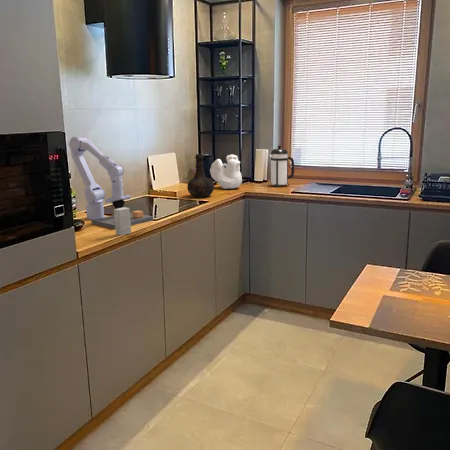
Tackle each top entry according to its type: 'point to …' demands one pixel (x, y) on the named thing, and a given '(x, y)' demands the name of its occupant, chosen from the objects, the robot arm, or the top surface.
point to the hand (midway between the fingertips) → (119, 214)
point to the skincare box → (122, 221)
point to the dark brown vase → (200, 180)
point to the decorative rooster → (227, 172)
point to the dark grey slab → (110, 220)
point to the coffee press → (280, 167)
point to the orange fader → (137, 214)
